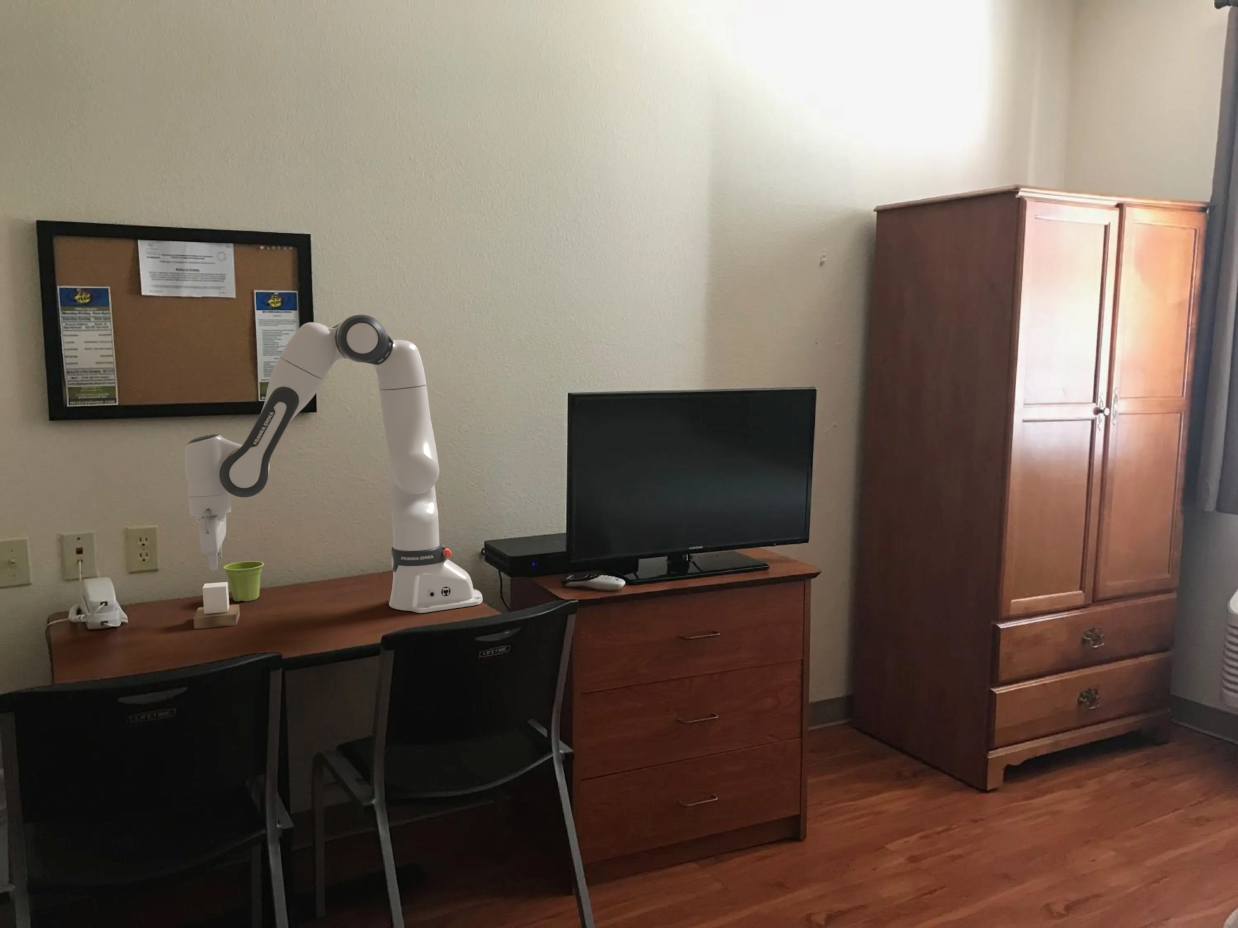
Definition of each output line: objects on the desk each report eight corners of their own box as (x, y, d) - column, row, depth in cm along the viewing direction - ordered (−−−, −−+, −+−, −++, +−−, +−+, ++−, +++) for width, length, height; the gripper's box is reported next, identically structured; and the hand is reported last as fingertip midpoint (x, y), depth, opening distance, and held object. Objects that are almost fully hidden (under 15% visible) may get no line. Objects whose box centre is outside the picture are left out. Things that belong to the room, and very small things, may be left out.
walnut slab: (239, 616, 241) (239, 604, 241) (236, 626, 233) (235, 614, 232) (199, 619, 239) (198, 607, 238) (194, 630, 230) (193, 617, 230)
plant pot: (218, 599, 255) (216, 565, 253) (253, 592, 262) (251, 559, 260) (238, 606, 249) (235, 571, 247) (273, 597, 256) (270, 564, 254)
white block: (229, 606, 239) (227, 581, 238) (227, 611, 234) (225, 586, 233) (206, 608, 237) (204, 583, 236) (204, 613, 232) (202, 588, 232)
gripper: (220, 512, 223) (226, 573, 225) (228, 497, 242) (234, 554, 244) (189, 515, 221) (196, 577, 223) (200, 500, 241) (206, 557, 243)
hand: (216, 565), depth 234 cm, fingers open, 8 cm apart
